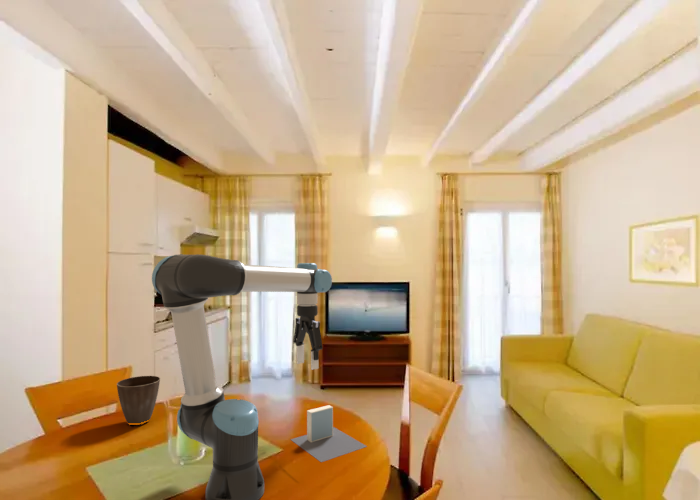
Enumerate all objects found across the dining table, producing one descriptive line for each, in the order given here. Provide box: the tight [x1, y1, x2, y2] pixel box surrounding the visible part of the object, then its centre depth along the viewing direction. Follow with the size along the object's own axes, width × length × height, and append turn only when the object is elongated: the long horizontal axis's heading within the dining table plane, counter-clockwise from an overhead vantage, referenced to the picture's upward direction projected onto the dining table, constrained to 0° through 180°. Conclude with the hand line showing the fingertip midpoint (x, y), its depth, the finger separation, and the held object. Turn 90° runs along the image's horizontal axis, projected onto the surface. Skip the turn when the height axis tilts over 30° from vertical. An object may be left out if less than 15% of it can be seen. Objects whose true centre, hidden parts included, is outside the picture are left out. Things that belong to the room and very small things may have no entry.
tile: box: [306, 404, 334, 442], centre depth 144 cm, size 9×2×10 cm, turn 126°
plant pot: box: [116, 375, 161, 424], centre depth 160 cm, size 15×15×16 cm
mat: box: [290, 426, 368, 463], centre depth 140 cm, size 18×20×1 cm
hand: (307, 365), depth 152 cm, fingers open, 10 cm apart
